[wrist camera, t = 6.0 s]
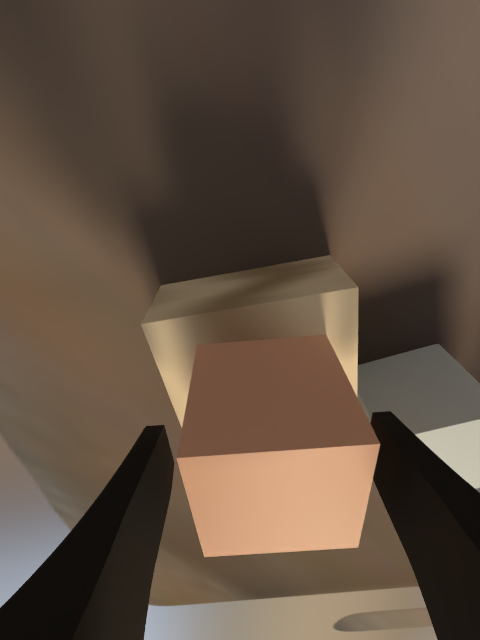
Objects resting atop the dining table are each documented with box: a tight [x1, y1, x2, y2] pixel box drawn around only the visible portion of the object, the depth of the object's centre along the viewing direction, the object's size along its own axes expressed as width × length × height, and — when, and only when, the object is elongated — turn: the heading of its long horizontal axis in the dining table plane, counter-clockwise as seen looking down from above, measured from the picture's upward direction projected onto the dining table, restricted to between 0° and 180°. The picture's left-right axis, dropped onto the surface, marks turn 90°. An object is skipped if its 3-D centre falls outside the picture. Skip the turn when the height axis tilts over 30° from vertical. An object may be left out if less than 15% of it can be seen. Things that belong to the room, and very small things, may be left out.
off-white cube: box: [357, 344, 480, 489], centre depth 16 cm, size 5×5×5 cm
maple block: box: [141, 255, 358, 427], centre depth 15 cm, size 8×8×4 cm
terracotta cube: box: [177, 335, 380, 557], centre depth 11 cm, size 5×5×5 cm
